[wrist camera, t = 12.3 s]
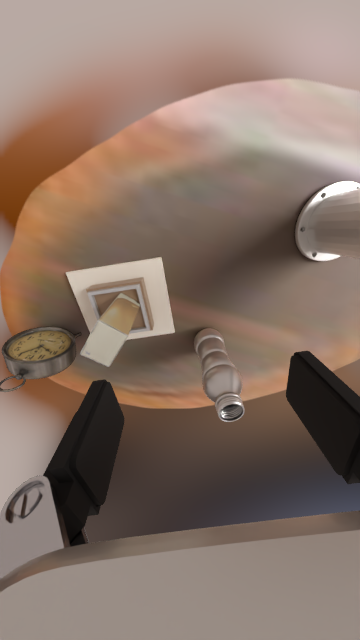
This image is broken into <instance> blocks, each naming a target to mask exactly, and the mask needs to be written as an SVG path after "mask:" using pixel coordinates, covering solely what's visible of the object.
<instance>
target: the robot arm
mask: <svg viewBox="0 0 360 640" xmlns="http://www.w3.org/2000/svg"><path fill="white" fill-rule="evenodd" d="M300 229H301V230H300ZM295 239H296V244H297V246H298V249H299V250H300V252H301V253H302V254H303V255H304V256H306V257H307V258H309V259H312V260H316V261H329V260H333V259H336V258H338V257H340V256H346V257H352V258H358V259H360V184H359V183H357V182H353V181H341V182H337V183H333V184H330V185H328V186H326V187H324V188H322V189H321V190H319V191H318V192H317V193H316V194H314V195H313V196H312V197H311V198H310V200H309V201H308V202H307V203H306V205H305V206H304V208H303V209H302V211H301V213H300V215H299V217H298V220H297V224H296V229H295ZM286 397H287V400H288V402H289V403H290V405H291V406H292V408H293V409H294V411H295V412H296V414H297V415H298V417H299V418H300V420H301V421H302V423H303V424H304V426H305V427H306V428H307V430H308V432H309V433H310V435H311V436H312V438H313V439H314V441H315V442H316V443H317V445H318V447H319V448H320V449H321V451H322V453H323V454H324V455H325V457H326V458H327V460H328V461H329V463H330V464H331V466H332V467H333V469H334V470H335V472H336V473H337V474H338V475H342V476H343V478H344V479H345V481H346V482H347V484H352V483H360V397H359V396H358V395H357V394H356V393H355V392H354V391H353V390H351V389H350V388H349V387H348V386H347V385H346V384H345V383H344V382H343V381H342V380H340V379H339V378H338V377H337V376H336V375H335V374H334V373H333V372H332V371H330V370H329V369H328V368H327V367H326V366H325V365H324V364H323V363H322V362H320V361H319V360H318V359H317V358H316V357H315V356H314V355H313V354H312V353H310V352H309V351H302V352H296V353H294V356H292V357H291V361H290V368H289V376H288V383H287V391H286ZM123 425H124V416H123V413H122V411H121V408H120V406H119V403H118V401H117V398H116V396H115V393H114V391H113V388H112V386H111V384H110V382H107V381H106V380H98V381H93V382H92V384H91V386H90V388H89V390H88V392H87V394H86V396H85V398H84V400H83V402H82V404H81V406H80V408H79V409H78V411H77V412H76V414H75V415H74V417H73V419H72V421H71V423H70V425H69V427H68V428H67V430H66V433H65V434H64V436H63V438H62V440H61V442H60V444H59V446H58V448H57V450H56V452H55V454H54V456H53V457H52V460H51V461H50V463H49V465H48V467H47V469H46V471H45V473H44V475H43V476H36V477H33V478H30V479H29V480H27V481H25V482H24V483H23V484H21V485H20V486H19V487H18V488H17V489H16V490H15V491H14V492H13V493H12V494H11V496H10V497H9V498H8V500H7V501H6V503H5V505H4V507H3V509H2V511H1V513H0V640H360V511H351V512H341V513H332V514H323V515H314V516H305V517H297V518H288V519H279V520H270V521H262V522H253V523H244V524H236V525H227V526H219V527H211V528H203V529H194V530H186V531H179V532H170V533H162V534H154V535H145V536H137V537H130V538H122V539H116V540H108V541H101V542H95V543H89V541H88V538H87V535H86V532H85V529H84V526H85V523H86V520H87V516H90V515H98V514H99V510H100V506H101V505H103V504H104V502H105V499H106V495H107V491H108V487H109V483H110V479H111V475H112V471H113V466H114V462H115V458H116V454H117V450H118V446H119V442H120V438H121V433H122V430H123Z"/></svg>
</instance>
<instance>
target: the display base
mask: <svg viewBox="0 0 360 640" xmlns="http://www.w3.org/2000/svg"><path fill="white" fill-rule="evenodd" d="M66 275H67V277H68V280H69V282H70V285H71V287H72V290H73V292H74V295H75V297H76V300H77V302H78V305H79V307H80V310H81V312H82V314H83V317H84V319H85V322H86V324H87V327H88V329H89V332H90V333H91V332H92V330H93V328H94V326H95V324H96V323H97V321H98V319H99V318H100V317H101V316H102V315H103V313H104V312H105V311H106V310H107V308H108V307H109V306H110V305H111V304H112V302H113V301H114V300H115V299H116V297H117V296H118V295H119V294H120V293H123V294H124V295H126V296H128V297H130V298H131V299H133V300H135V301H136V302H138V303H140V308H139V310H138V312H137V315H136V317H135V320H134V322H133V325H132V327H131V330H130V332H129V335H128V337H127V339H126V340H129V339H136V338H142V337H149V336H156V335H163V334H170V333H175V329H174V323H173V318H172V312H171V307H170V301H169V296H168V290H167V285H166V279H165V274H164V268H163V262H162V257H157V258H151V259H144V260H138V261H132V262H125V263H119V264H113V265H107V266H100V267H94V268H88V269H81V270H75V271H69V272H66Z"/></svg>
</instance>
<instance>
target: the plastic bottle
mask: <svg viewBox="0 0 360 640" xmlns="http://www.w3.org/2000/svg"><path fill="white" fill-rule="evenodd" d="M194 348H195V351H196V353H197V354H198V356H199V359H200V362H201V368H202V385H203V390H204V392H205V394H206V395H207V397H208V398H209V399H211V400H212V401H213V402H215V406H216V410H217V412H218V416H219V418H220V419H221V420H223V421H226V422H232V421H236V420H238V419H240V418H241V417H242V416H243V414H244V407H243V404H242V399H241V397H240V393H241V390H242V386H243V384H242V377H241V375H240V373H239V371H238V370H237V369H236V367H235V366H234V365H233V363H232V362H231V360H230V358H229V357H228V355H227V352H226V349H225V344H224V339H223V336H222V335H221V334H220V333H219V332H218V331H217V330H215V329H213V328H206V329H203V330H201V331H200V332H199V333H197V335H196V337H195V339H194Z"/></svg>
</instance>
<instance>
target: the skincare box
mask: <svg viewBox="0 0 360 640" xmlns="http://www.w3.org/2000/svg"><path fill="white" fill-rule="evenodd" d="M139 308H140V303H138V302H136V301H135V300H133V299H131V298H130V297H128V296H126V295H124V294H123V293H120V294H119V295H118V296H117V297H116V299H115V300H114V301H113V302H112V304H111V305H110V306H109V307H108V308H107V310H106V311H105V312H104V313H103V315H102V316H101V317H100V318H99V319H98V321H97V323H96V324H95V326H94V328H93V330H92V332H91V333H90V335H89V337H88V339H87V341H86V343H85V345H84V347H83V349H82V351H81V353H80V355H82V356H84V357H86V358H88V359H91V360H93V361H95V362H97V363H100V364H102V365H104V366H107V367H109V366H110V365H111V363H112V362H113V360H114V359H115V357H116V356H117V354H118V353H119V351H120V349H121V348H122V346H123V344H124V342H125V341H126V339H127V337H128V335H129V332H130V330H131V327H132V325H133V322H134V320H135V317H136V315H137V312H138V310H139Z"/></svg>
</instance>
